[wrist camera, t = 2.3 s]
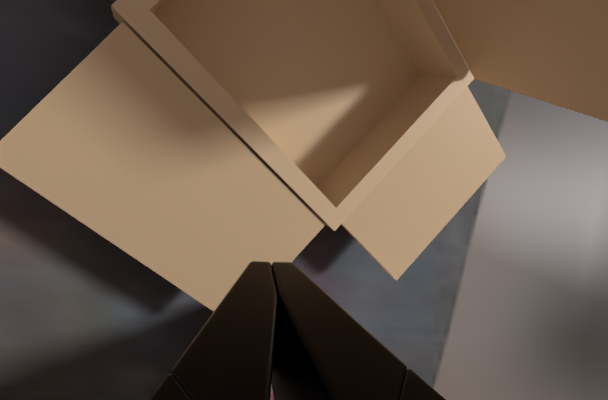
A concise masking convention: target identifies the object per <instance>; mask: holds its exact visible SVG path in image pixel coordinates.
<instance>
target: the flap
mask: <svg viewBox="0 0 608 400" xmlns="http://www.w3.org/2000/svg"><path fill="white" fill-rule="evenodd" d="M433 2H434V4H435V6H436V8H437V10H438V12H439V13H440V15H441V17H442V19H443V21H444V23H445V25H446V26H447V28H448V30H449V32H450V34H451V36H452V38H453V40H454V41H455V43H456V45H457V47H458V49H459V51H460V53H461V55H462V56H463V58H464V60H465V62H466V64H467V66H468V68H469V69H470V71H471V73H472V75H473V77H474V79H477V80H480V81H483V82H486V83H489V84H492V85H495V86H499V87H502V88H505V89H508V90H511V91H514V92H517V93H520V94H524V95H527V96H530V97H533V98H536V99H539V100H542V101H545V102H548V103H551V104H554V105H557V106H561V107H564V108H567V109H570V110H573V111H576V112H579V113H583V114H585V115H589V116H592V117H595V118H598V119H601V120H604V121H607V122H608V0H433Z"/></svg>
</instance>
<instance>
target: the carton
mask: <svg viewBox="0 0 608 400" xmlns="http://www.w3.org/2000/svg"><path fill="white" fill-rule="evenodd" d="M111 8H112V12H113V17H114V19H115V20H116V21H117V22H118V23H119V24H120V25H119V26H118V27H117V28H115V29H114V30H113V31H112V32H111V33H110V34H109V35H108V36H107V37H106V38H105V39H104V40H103V41H102V42H101V43H100V44H99V45H98V46H97V47H96V48H95V49H94V50H93V51H92V52H91V53H90V54H89V55H88V56H87V57H86V58H85V59H84V60H83V61H82V62H81V63H80V64H78V65H77V66H76V67H75V68H74V69H73V70H72V71H71V72H70V73H69V74H68V75H67V76H66V77H65V78H64V79H63V80H62V81H61V82H60V83H59V84H58V85H57V86H56V87H55V88H54V89H53V90H52V91H51V92H50V93H49V94H48V95H47V96H46V97H45V98H44V99H43V100H41V101H40V102H39V103H38V104H37V105H36V106H35V107H34V108H33V109H32V110H31V111H30V112H29V113H28V114H27V115H26V116H25V117H24V118H23V119H22V120H21V121H20V122H19V123H18V124H17V125H16V126H15V127H14V128H13V129H12V130H11V131H10V132H9V133H8V134H7V135H6V136H4V137H3V138H2V139H1V140H0V168H1V169H3V170H4V171H6V172H7V173H9V174H10V175H12V176H13V177H15V178H16V179H18V180H19V181H21V182H22V183H24V184H25V185H27V186H28V187H30V188H31V189H33V190H34V191H36V192H37V193H39V194H40V195H42V196H43V197H44V198H46V199H47V200H49V201H50V202H52V203H53V204H55V205H56V206H58V207H59V208H61V209H62V210H64V211H65V212H67V213H68V214H70V215H71V216H73V217H74V218H76V219H77V220H79V221H80V222H82V223H83V224H85V225H86V226H87V227H89V228H90V229H92V230H93V231H95V232H96V233H98V234H99V235H101V236H102V237H104V238H105V239H107V240H108V241H110V242H111V243H113V244H114V245H116V246H117V247H119V248H120V249H122V250H123V251H125V252H126V253H128V254H129V255H130V256H132V257H133V258H135V259H136V260H138V261H139V262H141V263H142V264H144V265H145V266H147V267H148V268H150V269H151V270H153V271H154V272H156V273H157V274H159V275H160V276H162V277H163V278H165V279H166V280H168V281H169V282H171V283H172V284H173V285H175V286H176V287H178V288H179V289H181V290H182V291H184V292H185V293H187V294H188V295H190V296H191V297H193V298H194V299H196V300H197V301H199V302H200V303H202V304H203V305H205V306H206V307H208V308H209V309H211V310H212V311H215V309H216V308H217V307H218V305H219V304H220V302H221V301H222V300H223V298H224V297H225V296H226V294H227V293H228V292H229V290H230V289H231V288H232V286H233V285H234V283H235V282H236V281H237V279H238V278H239V277H240V275H241V274H242V273H243V271H244V270H245V268H246V267H247V266H248V264H249V263H250V262H252V261H264V262H270V263H271V265H272V263H273V262H292V261H293V260H294V259H295V258H296V257H297V256H298V255H299V253H300V252H301V251H302V250H303V249H304V248H305V247H306V246H307V245H308V244H309V243H310V241H311V240H312V239H313V238H314V237H315V236H316V235H317V234H318V233H319V232H320V231H321V229H322V228H323V227H324V226H325V225H327V226H328V227H329V228H331V229H332V230H333V231H335V230H336V229H337V228H338V227H339V226H340V225H342V226H343V227H344V228H345V229H346V230H347V231H348V233H349V234H350V235H351V236H352V237H353V238H354V239H355V240H356V241H357V242H358V243H359V244H360V245H361V246H362V247H363V248H364V249H365V250H366V251H367V252H368V253H369V254H370V255H371V256H372V257H373V258H374V259H375V261H376V262H377V263H378V264H379V265H380V266H381V267H382V268H383V269H384V270H385V271H386V272H387V273H388V274H389V275H390V276H391V277H392V278H394V279H395V280H396V281H397V279H398V278H399V277H400V276H401V275H402V274H403V273H404V272H405V270H406V269H407V268H408V267H409V266H410V265H411V264H412V263H413V261H414V260H415V259H416V258H417V257H418V256H419V255H420V253H421V252H422V251H423V250H424V249H425V248H426V247H427V246H428V244H429V243H430V242H431V241H432V240H433V239H434V238H435V237H436V235H437V234H438V233H439V232H440V231H441V230H442V229H443V228H444V226H445V225H446V224H447V223H448V222H449V221H450V220H451V218H452V217H453V216H454V215H455V214H456V213H457V212H458V211H459V209H460V208H461V207H462V206H463V205H464V204H465V203H466V202H467V200H468V199H469V198H470V197H471V196H472V195H473V194H474V193H475V191H476V190H477V189H478V188H479V187H480V186H481V185H482V183H483V182H484V181H485V180H486V179H487V178H488V177H489V176H490V174H491V173H492V172H493V171H494V170H495V169H496V168H497V166H498V165H499V164H500V163H501V162H502V161H503V160H504V159H505V158H506V155H505V153H504V151H503V150H502V148H501V146H500V144H499V142H498V140H497V139H496V137H495V135H494V133H493V131H492V130H491V128H490V126H489V124H488V122H487V120H486V119H485V117H484V115H483V113H482V111H481V110H480V108H479V106H478V104H477V102H476V101H475V99H474V97H473V95H472V93H471V91H470V90H469V88H468V85H469V84H470V83H471V82H472V81H473V79H474V77H473V75H472V73H471V71H470V69H469V68H468V66H467V64H466V62H465V60H464V58H463V56H462V55H461V53H460V51H459V49H458V47H457V45H456V43H455V41H454V40H453V38H452V36H451V34H450V32H449V30H448V28H447V26H446V25H445V23H444V21H443V19H442V17H441V15H440V13H439V12H438V10H437V8H436V6H435V4H434V2H433V0H116V1H115V2H114V3H113V4H112V5H111ZM322 222H323V223H324V224H325V225H324V224H323V223H322Z"/></svg>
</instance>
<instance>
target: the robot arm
mask: <svg viewBox="0 0 608 400" xmlns="http://www.w3.org/2000/svg"><path fill="white" fill-rule="evenodd" d="M406 370H407V367H406V365H405V364H404V363H403V362H401V361H400V360H399V359H398V358H397V357H396V356H395V355H394V354H393V353H391V352H390V351H389V350H388V349H387V348H386V347H385V346H384V345H383V344H381V343H380V342H379V341H378V340H377V339H376V338H375V337H374V336H373V335H371V334H370V333H369V332H368V331H367V330H366V329H365V328H364V327H363V326H362V325H360V324H359V323H358V322H357V321H356V320H355V319H354V318H353V317H352V316H350V315H349V314H348V313H347V312H346V311H345V310H344V309H343V308H342V307H340V306H339V305H338V304H337V303H336V302H335V301H334V300H333V299H332V298H331V297H329V296H328V295H327V294H326V293H325V292H324V291H323V290H322V289H321V288H319V287H318V286H317V285H316V284H315V283H314V282H313V281H312V280H311V279H309V278H308V277H307V276H306V275H305V274H304V273H303V272H302V271H301V270H300V269H298V268H297V267H296V266H295V265H294V264H293V263H291V262H273V263H272V265H271V263H270V262H264V261H252V262H250V263H249V264H248V266H247V267H246V268H245V270H244V271H243V273H242V274H241V275H240V277H239V278H238V279H237V281H236V282H235V283H234V285H233V286H232V288H231V289H230V290H229V292H228V293H227V294H226V296H225V297H224V298H223V300H222V301H221V302H220V304H219V305H218V307H217V308H216V309H215V311H214V312H213V313H212V315H211V316H210V317H209V319H208V320H207V322H206V323H205V324H204V326H203V327H202V328H201V330H200V331H199V332H198V334H197V335H196V336H195V338H194V339H193V341H192V342H191V343H190V345H189V346H188V347H187V349H186V350H185V351H184V353H183V354H182V356H181V357H180V358H179V360H178V361H177V362H176V364H175V365H174V366H173V368H172V369H171V370H170V373H169V374H167V375H166V376H165V378H164V379H163V380H162V382H161V383H160V384H159V386H158V387H157V388H156V390H155V391H154V392H153V394H152V395H151V396H150V398H149V399H148V400H270V397H271V384H272V390H273V396H274V400H445V399H444V398H443V397H442V396H441V395H440V394H438V393H437V392H436V391H435V390H434V389H433V388H432V387H430V386H429V385H428V384H427V383H426V382H425V381H424V380H422V379H421V378H420V377H419V376H418V375H417V374H416V373H415V372H414V371H412V370H411V369H408V370H407V371H406Z"/></svg>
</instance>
